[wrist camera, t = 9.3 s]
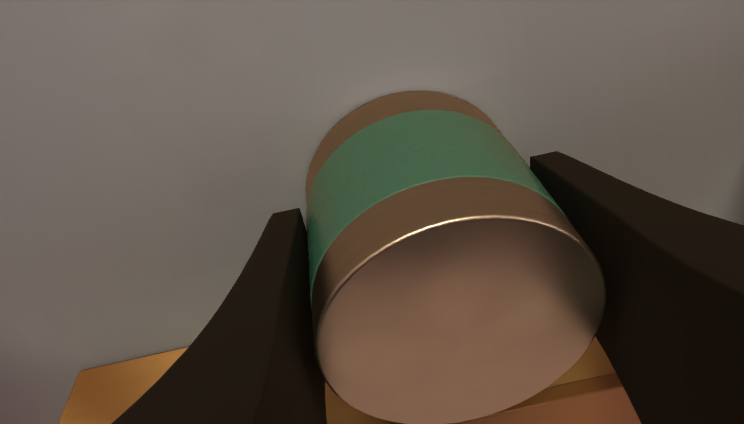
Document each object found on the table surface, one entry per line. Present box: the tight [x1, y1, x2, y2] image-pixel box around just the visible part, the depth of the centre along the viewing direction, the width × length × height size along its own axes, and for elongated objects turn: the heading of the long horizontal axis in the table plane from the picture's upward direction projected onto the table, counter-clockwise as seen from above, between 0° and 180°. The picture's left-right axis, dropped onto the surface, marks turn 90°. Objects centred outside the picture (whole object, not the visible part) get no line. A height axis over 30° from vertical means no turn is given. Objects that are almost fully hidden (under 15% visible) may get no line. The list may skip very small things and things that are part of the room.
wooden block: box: [58, 337, 641, 424], centre depth 15 cm, size 19×4×4 cm, turn 100°
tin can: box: [306, 91, 606, 424], centre depth 11 cm, size 5×5×5 cm
